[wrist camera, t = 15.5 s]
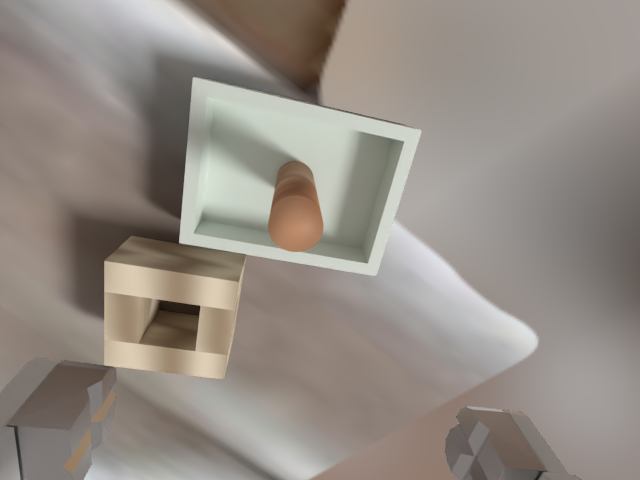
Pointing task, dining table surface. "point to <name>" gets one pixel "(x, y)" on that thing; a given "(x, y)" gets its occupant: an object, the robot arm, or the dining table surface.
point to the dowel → (295, 209)
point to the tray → (278, 149)
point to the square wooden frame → (163, 326)
